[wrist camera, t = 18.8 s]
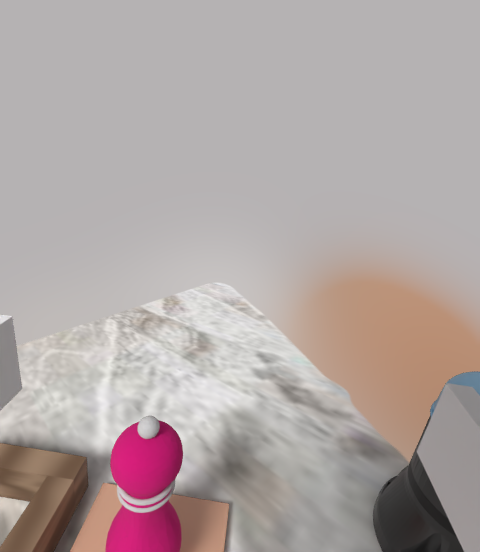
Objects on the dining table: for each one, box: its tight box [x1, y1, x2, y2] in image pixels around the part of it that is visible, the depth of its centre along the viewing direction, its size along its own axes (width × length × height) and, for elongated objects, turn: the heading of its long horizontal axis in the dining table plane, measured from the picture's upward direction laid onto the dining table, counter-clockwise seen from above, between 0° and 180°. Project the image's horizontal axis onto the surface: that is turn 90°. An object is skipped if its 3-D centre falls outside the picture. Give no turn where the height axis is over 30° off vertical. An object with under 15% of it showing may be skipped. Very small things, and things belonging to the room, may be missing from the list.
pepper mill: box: [105, 416, 183, 552], centre depth 32 cm, size 7×7×20 cm
